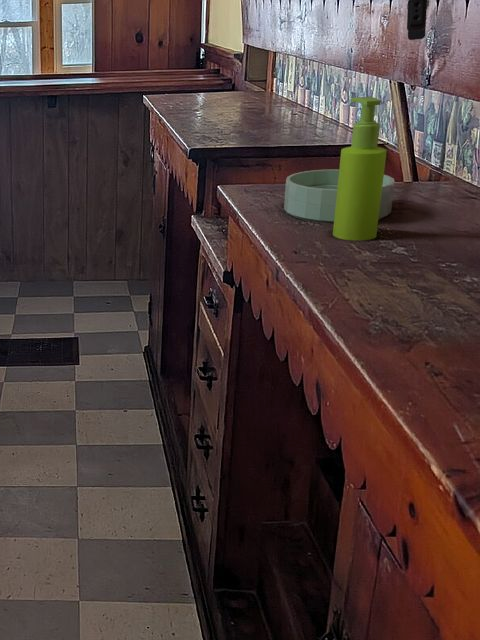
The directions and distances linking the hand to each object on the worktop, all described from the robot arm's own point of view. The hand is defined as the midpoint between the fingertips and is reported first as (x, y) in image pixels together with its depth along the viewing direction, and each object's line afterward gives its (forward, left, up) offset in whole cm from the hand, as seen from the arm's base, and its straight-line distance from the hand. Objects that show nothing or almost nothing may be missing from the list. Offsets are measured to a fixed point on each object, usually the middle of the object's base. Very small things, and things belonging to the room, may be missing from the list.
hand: (416, 35), depth 116 cm
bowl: (+11, -10, -28) cm, 32 cm away
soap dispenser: (+4, +5, -28) cm, 29 cm away
